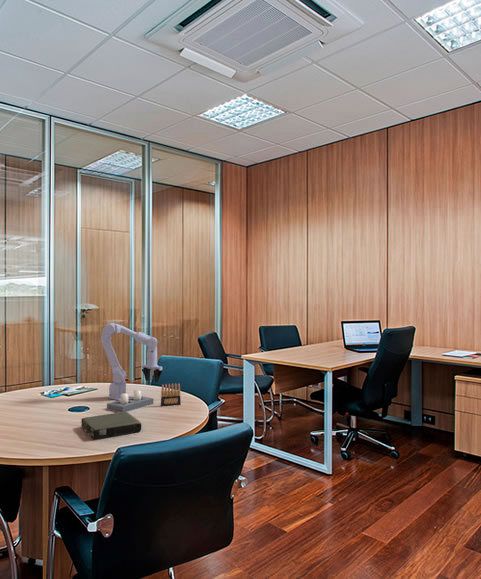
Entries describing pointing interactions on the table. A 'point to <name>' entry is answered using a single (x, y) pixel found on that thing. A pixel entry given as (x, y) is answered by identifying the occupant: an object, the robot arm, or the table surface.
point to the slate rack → (128, 403)
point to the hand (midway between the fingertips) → (152, 381)
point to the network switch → (110, 425)
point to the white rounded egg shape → (137, 395)
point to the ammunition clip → (170, 395)
